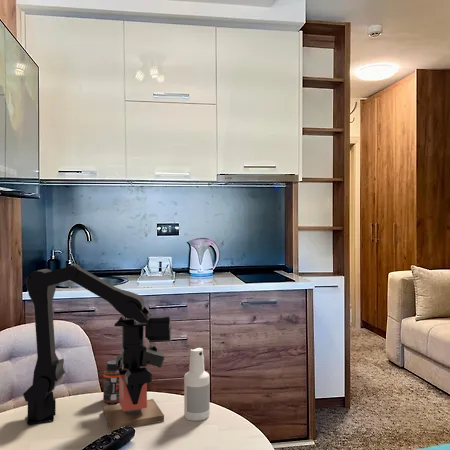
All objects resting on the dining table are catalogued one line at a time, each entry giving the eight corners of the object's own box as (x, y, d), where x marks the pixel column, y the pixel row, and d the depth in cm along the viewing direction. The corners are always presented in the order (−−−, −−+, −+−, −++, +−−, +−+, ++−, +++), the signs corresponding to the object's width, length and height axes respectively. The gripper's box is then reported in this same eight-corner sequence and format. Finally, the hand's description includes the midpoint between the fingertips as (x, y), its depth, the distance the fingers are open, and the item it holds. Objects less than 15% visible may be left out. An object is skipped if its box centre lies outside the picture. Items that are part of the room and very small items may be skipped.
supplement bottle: (118, 405, 127) (118, 365, 127) (99, 403, 128) (99, 364, 128) (127, 397, 133) (127, 359, 133) (109, 395, 134) (108, 358, 134)
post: (127, 414, 117) (127, 395, 117) (125, 409, 120) (125, 391, 120) (141, 412, 118) (141, 393, 118) (138, 407, 121) (138, 389, 121)
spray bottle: (194, 423, 114) (194, 354, 115) (179, 415, 120) (179, 349, 120) (214, 416, 119) (214, 349, 119) (199, 408, 124) (199, 344, 124)
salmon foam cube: (123, 411, 115) (123, 382, 115) (119, 402, 121) (119, 375, 121) (146, 407, 117) (146, 379, 117) (141, 399, 123) (141, 372, 123)
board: (109, 430, 111) (109, 424, 111) (103, 412, 122) (103, 406, 122) (164, 420, 116) (164, 415, 116) (153, 404, 127) (153, 398, 127)
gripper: (171, 347, 114) (171, 408, 114) (153, 331, 131) (153, 384, 131) (127, 352, 109) (127, 415, 109) (115, 335, 126) (115, 389, 126)
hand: (132, 399), depth 119 cm, fingers closed on salmon foam cube, 6 cm apart
